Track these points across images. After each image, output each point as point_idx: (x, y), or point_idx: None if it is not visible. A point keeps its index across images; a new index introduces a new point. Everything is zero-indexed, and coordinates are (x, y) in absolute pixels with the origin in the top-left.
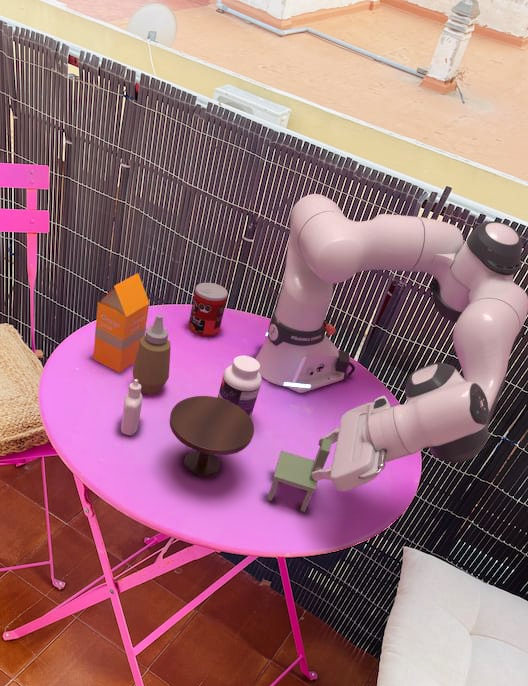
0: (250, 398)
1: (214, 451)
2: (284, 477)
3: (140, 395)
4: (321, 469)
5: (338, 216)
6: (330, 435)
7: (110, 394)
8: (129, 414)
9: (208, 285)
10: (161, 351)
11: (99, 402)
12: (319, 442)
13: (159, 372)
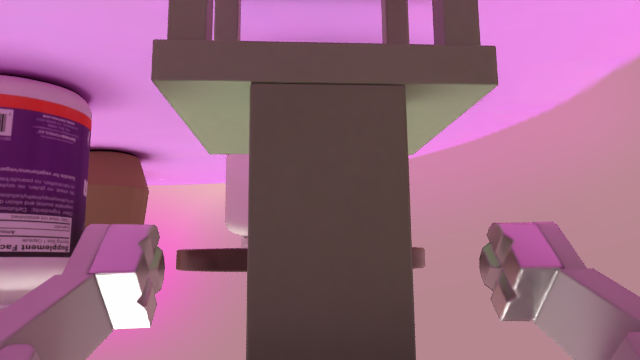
0: (33, 219)
1: (424, 261)
2: (413, 145)
3: (246, 233)
4: (552, 335)
5: None
6: (84, 356)
7: (185, 166)
8: None
9: None
10: None
11: (218, 168)
12: (160, 279)
13: (124, 217)
